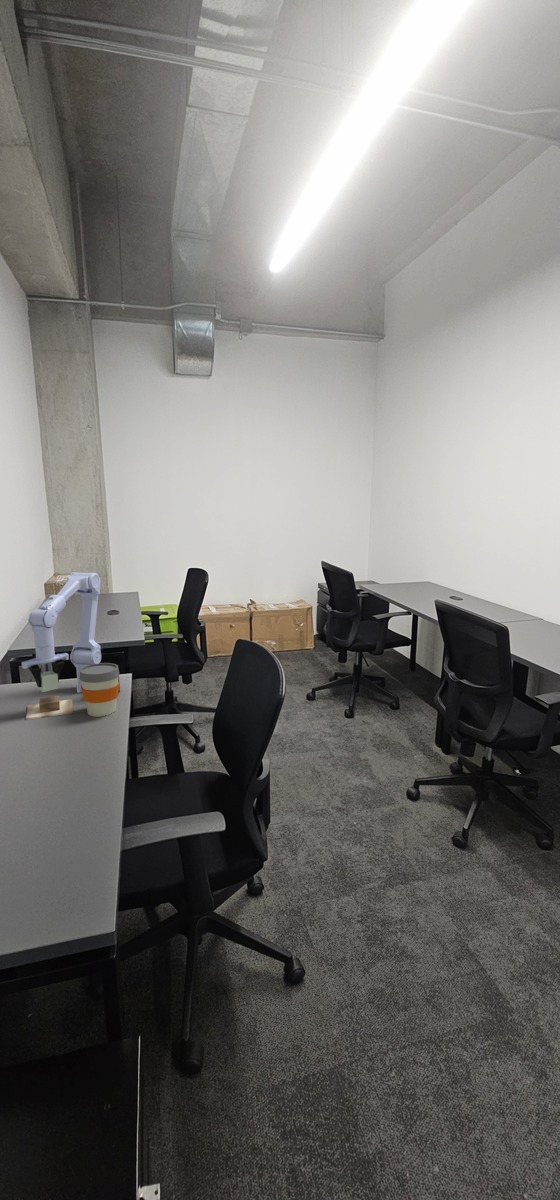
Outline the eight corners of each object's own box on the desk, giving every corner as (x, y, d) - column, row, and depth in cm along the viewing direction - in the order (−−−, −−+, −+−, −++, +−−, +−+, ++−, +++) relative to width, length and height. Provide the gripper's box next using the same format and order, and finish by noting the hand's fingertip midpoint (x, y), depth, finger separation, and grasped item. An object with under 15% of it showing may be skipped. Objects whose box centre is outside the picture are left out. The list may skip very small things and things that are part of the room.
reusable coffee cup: (96, 722, 161) (93, 677, 158) (74, 712, 168) (71, 669, 166) (129, 709, 171) (126, 667, 168) (107, 701, 178) (104, 660, 176)
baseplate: (71, 700, 179) (71, 691, 178) (72, 713, 168) (72, 702, 167) (28, 706, 173) (27, 696, 172) (26, 720, 162) (25, 709, 162)
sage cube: (52, 684, 173) (51, 670, 172) (58, 688, 169) (57, 674, 168) (37, 688, 169) (36, 674, 168) (43, 692, 166) (42, 677, 165)
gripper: (61, 639, 174) (64, 676, 177) (16, 647, 164) (20, 686, 166) (70, 642, 170) (73, 681, 172) (25, 651, 159) (28, 692, 162)
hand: (47, 684), depth 169 cm, fingers closed on sage cube, 5 cm apart
